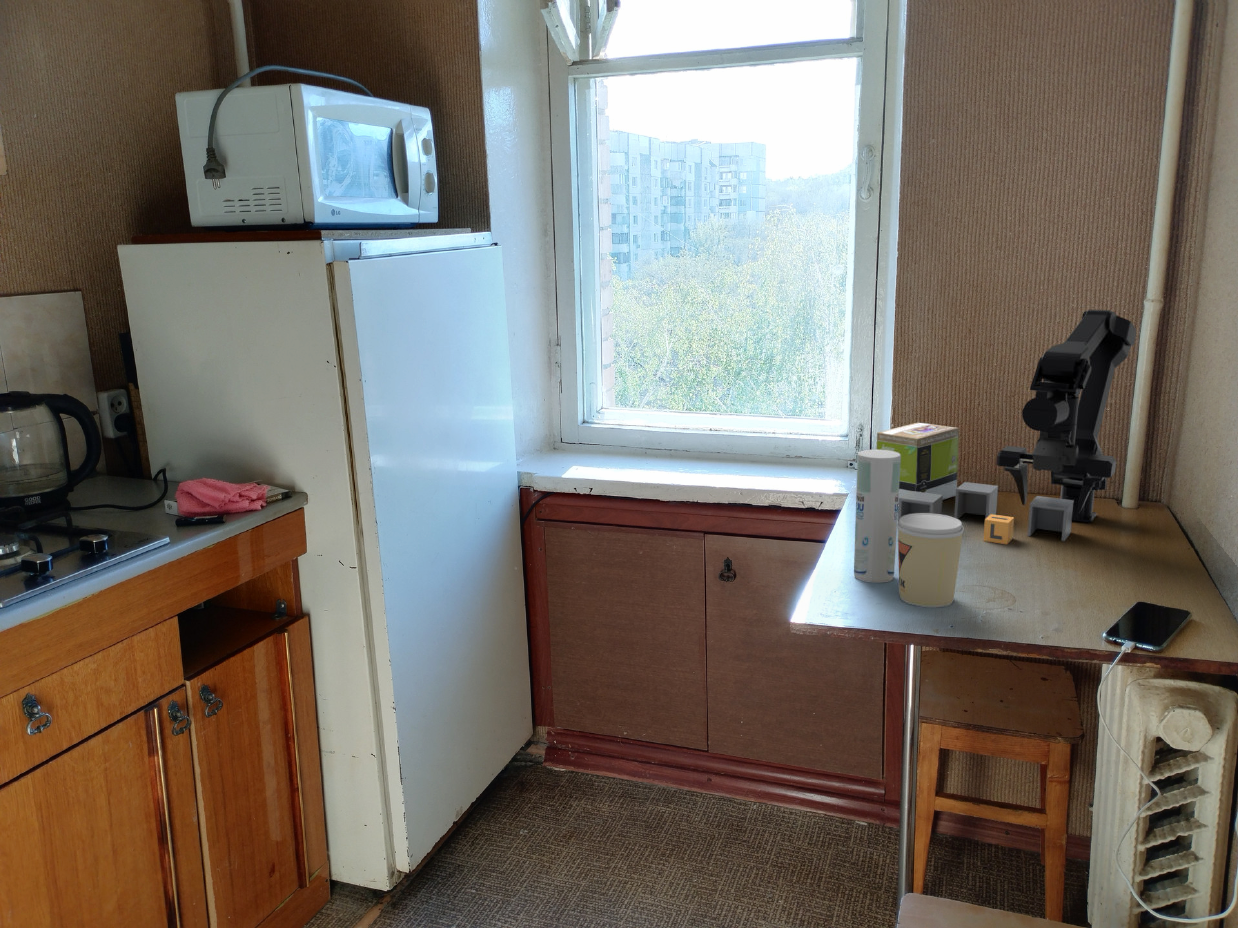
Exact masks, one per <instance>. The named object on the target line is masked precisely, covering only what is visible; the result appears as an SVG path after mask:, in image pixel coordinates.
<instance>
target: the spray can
mask: <svg viewBox="0 0 1238 928" xmlns="http://www.w3.org/2000/svg"><path fill="white" fill-rule="evenodd" d="M856 459H857V462H856V464H857V466H856V467H857V468H856V493H855V495H856V496H855V521H854V522H855V525H854V526H855V527H854V529H855V530H854V556H853V561H854V562H853V574H854V575H853V577H855V578H856V579H857V580H860V581H863V582H867V583H877V584H878V583H887V582H891V581H892V580H894V577H895V565H896V548H897V534H898V529H897V523H898V508H899V506H898V498H899V480H900V463H901V455H900V454H899V453H897V452H894V451H889V450H877V449H865V450H861V451H858V452H857V458H856Z"/></svg>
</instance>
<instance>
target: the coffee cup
mask: <svg viewBox="0 0 1238 928" xmlns="http://www.w3.org/2000/svg"><path fill="white" fill-rule="evenodd" d="M897 528H898V529H897V544H898V545H897V546H898V547H897V549H898V560H897V561H898V592H899V594H898V595H899V598H900V600H902V601H903V602H904V603H907V604H909V605H912V606H915V607H916V606H917V607H920V608H921V607H922V608H943V607H948V606H950V605H951V604H952V603H953V601H954V597H955V591H956V585H957V578H958V570H959V564H960V556H961V549H962V541H963V534H964V531H965V527H964V526H963V523H962V521H961V520H960V519H959V518H958V519H956V518H954V516H953V517H952V516H950V515H947V514H942V515H941V514H932V513H915V514H908V515H905V516H902V517H901V518H900V520H899V522H898V521H897Z"/></svg>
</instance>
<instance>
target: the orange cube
mask: <svg viewBox="0 0 1238 928" xmlns="http://www.w3.org/2000/svg"><path fill="white" fill-rule="evenodd" d="M985 518H986V517H985ZM985 518H984V525H983V526H984V527H983V539H982V540H983V542H989V543H996V544H1002V545H1008V544H1009V543H1010V542H1011V541H1012V540H1013V536H1014V524H1015V517H1013V516H1006V515H999V514H996V515H993V514H990V515H989V516H988V517H987V518H986V519H985Z"/></svg>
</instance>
